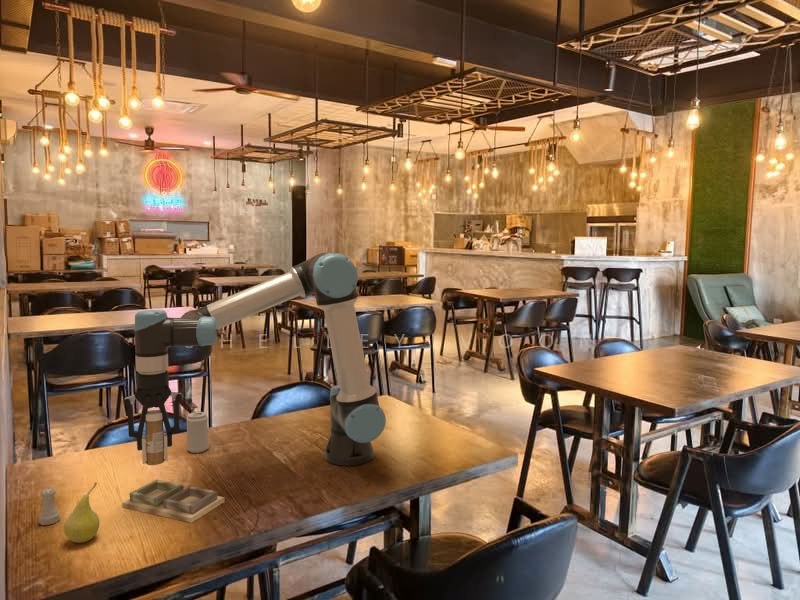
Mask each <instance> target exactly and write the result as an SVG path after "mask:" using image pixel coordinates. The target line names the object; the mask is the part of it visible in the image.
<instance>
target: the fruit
mask: <svg viewBox="0 0 800 600" xmlns="http://www.w3.org/2000/svg"><path fill="white" fill-rule="evenodd" d="M97 484H98V483H97V481H95V482H94V484H93V486H92V487H91V488H90V490H89V491H88V492H87V493H86V494H84V495H83V496H82V497H81V498H80V500H79V501H78V502H77V504H76V506H75V507H74V509H73V510H72V511H71V513H70V514H69V516H68V517H67V519H66V520H65V522H64V524H63V532H64V535H65V536H66V537H67V538H68V539H69V540H70V541H71V542H73V543H76V544H83V543H86V542H88V541H90V540H91V539H94V537H95V536H96V535H97V534H98V531H99V529H100V517H99V515H98V514H97V512H95V511H93V510H92V507H91V504H90V500H89V499H90V494H91V493H92V491H93V490H94V489H95V488H96V486H97Z"/></svg>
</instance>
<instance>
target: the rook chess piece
mask: <svg viewBox="0 0 800 600" xmlns="http://www.w3.org/2000/svg"><path fill="white" fill-rule="evenodd" d="M56 493H57V491H56V490H55V488H54V486H53V487H51V486H49V487H48V488H47V487H44V488H43V489H41V493H40V494H39V495H40V497H41V498H42V499H41V502H42V507H41V509H42V510H41V512H40V514H39V516H38V519H39V520H38V524H40V525H41V526H51V525H53V524H56V523H58V522H59V521H60V519H61V513H60V511H59V510H58V508H57V507H56V503H55V501H56V500H55V499H56V497H55V494H56Z"/></svg>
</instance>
